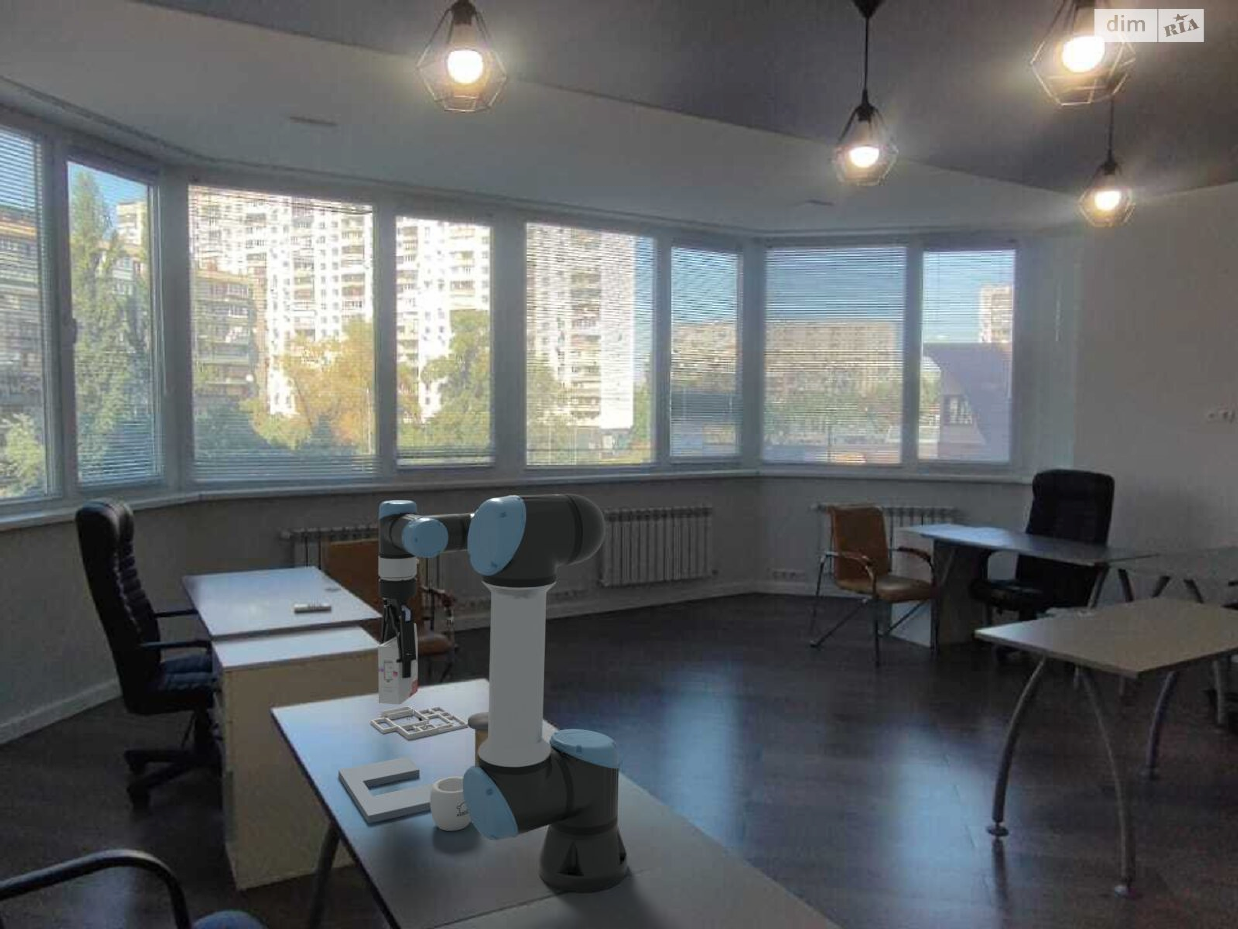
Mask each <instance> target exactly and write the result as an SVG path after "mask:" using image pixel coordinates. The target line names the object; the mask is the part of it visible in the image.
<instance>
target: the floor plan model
mask: <svg viewBox="0 0 1238 929" xmlns="http://www.w3.org/2000/svg"><path fill="white" fill-rule="evenodd" d="M438 710H439V711H440V712H436V711H438ZM380 712H381V713H380V715H381V717H379V718H375V719H371V720H370V725H372V726H373V727H374V728H376V729H377V730H378V731H379V732H380V733H381V734H386V733H387V732H388V733H392V732H395V731H396V732H398V733H399V734H400V735H401V736H402V737H404V738H406V739H407V740H409V741H410V740H413V739H418V738H423V737H427V736H431V735H436V734H441V733H447V732H450V731H451V732H452V731H456V730H459V729H464V728H467V727H469V726H468V722H466V721H464V720H462V719H461V718H460V717H458V716H456V715H454V714H452V713H450V712H448V711H447V710H445V709H444V708H442V707H440V706H437V707H432V708H428V709H427V708H426V709H423V710H417V709H414V708H413V707H411V706H410V705H405V706H401V707H397V708H391V709H386V710H381V711H380ZM424 713H428V714H426V715H424ZM409 716H410V717H409ZM412 716H415V717H416V718H418V722H417V721H416V722H412V723H411V722H410V723H408V722H407V721H404V723H406V724H402V725H399V724H398V725H397V724H396V722H394V721H393V720H395V719H400V718H405V717H406V720H409V721H410V720H411V719H412V720H414V717H412ZM435 718H439V719H440V720H442V721H443V722H445V723H447V724H444V723H443V724H442V723H440V724H437V726H435V724H434V723H430V720H431V719H435ZM452 720H454V721H455V722H456V723H459V725H455V723H454V722H453V721H452ZM380 723H386V724H388V725H389V727H386V728H384V727H382V726H381V725H379V724H380ZM408 730H413V731H414V732H411V733H410V732H409V731H408Z"/></svg>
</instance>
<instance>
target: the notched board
mask: <svg viewBox="0 0 1238 929" xmlns="http://www.w3.org/2000/svg"><path fill="white" fill-rule="evenodd" d="M419 777H420V768H419V767H418V766H417V765H416V764H415V763H414V762H413V761H412V759H411V758H410V757H409V756H404V757H399V758H394V759H388V760H382V761H378V762H372V763H367V764H361V765H357V766H352V767H347V768H342V769H338V779H339V780H340V782H341V783H342V785H343V786H344V788H345V789H346V791H347V793H348V794H349V796H350V798H351V799H352V800H353V802H354V804H355V805H356V806H357V808H358V809H359V812H360V813H361V814H362V816H363V818H365V821H366V822H367V824H373V823H377V822H381V821H385V820H390V819H394V818H398V817H404V816H408V815H413V814H417V813H421V812H426V811H429V810H430V811H431V808H430V795H431V789H432V787H433V785H434V783H429V784H428V783H427V784H423V785H419V786H418V785H417V786H413V787H409V788H405V789H400V790H396V791H395V790H394V791H391V792H385V793H381V794H377V795H373V794H372V793H371V791H370V789H369V787H374V786H379V785H384V784H389V783H394V781H395V782H399V781H398V780H400V781H403V780H410V779H413V778H419ZM407 814H408V815H407Z"/></svg>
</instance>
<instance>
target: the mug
mask: <svg viewBox="0 0 1238 929" xmlns="http://www.w3.org/2000/svg"><path fill="white" fill-rule="evenodd" d="M430 808H431V809H430V812H431V816H432V820H433V823H434V824H435V826H436V827H437V828H438V829H440V830H442V831H448V832H453V831H454V832H455V831H459V830H462V829H464V828H466V827H468V826H469V824H470V823H471V822H472V820H471V817H470V815H469V813H468V810H467V807H466V804H465V800H464V795H463V776H449V777H444V778H441V779H438V780H437V781H435V782H434V783H433V787H432V789H431V795H430Z"/></svg>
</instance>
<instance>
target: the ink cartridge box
mask: <svg viewBox="0 0 1238 929" xmlns="http://www.w3.org/2000/svg"><path fill="white" fill-rule="evenodd" d="M414 632H415V646H416V660H413V661H412V692H411V693H405V694H398V663H396V660H397V659H399V648H398V644H397V636H396V637H394V638H392V639H390V640H389V641H387V642H385V643H381V644H379V645H378V646H377V656H378V658H377V660H378V661H377V662H378V665H377V666H378V668H377V669H378V670H377V671H378V672H377V673H378V676H377V677H378V703H379V704H389V705H402V704H403V703H404V702H406V701H407V700H408V699H410V698H411V697H412V696H414V695H415V694H416V693H418V689H419V688H418V687H419V686H418V683H419V682H418V681H419V680H418V677H419V676H418V675H419V674H418V673H419V670H418V666H419V663H418V662H419V661H418V659H419V658H418V657H419V656H418V654H419V651H418V650H419V648H418V647H419V645H418V644H419V642H418V641H419V640H418V630H417V624H416V623H415V622H414ZM399 633H400V632H399ZM399 633H398V636H399ZM407 655H409V654H407Z"/></svg>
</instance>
